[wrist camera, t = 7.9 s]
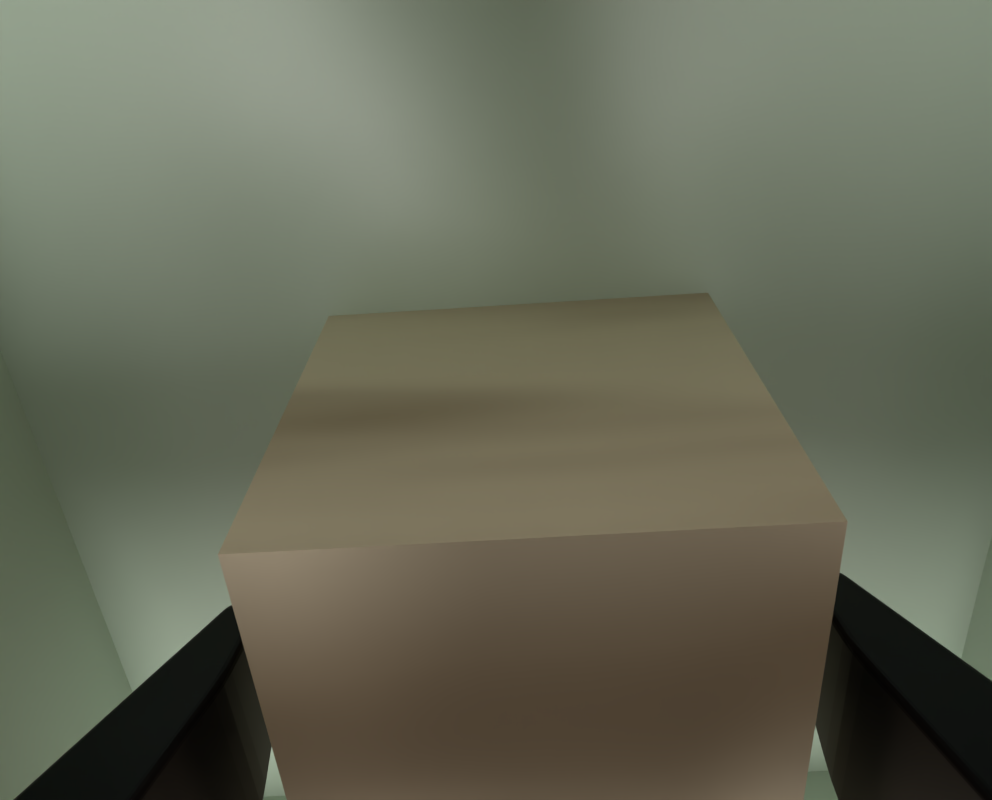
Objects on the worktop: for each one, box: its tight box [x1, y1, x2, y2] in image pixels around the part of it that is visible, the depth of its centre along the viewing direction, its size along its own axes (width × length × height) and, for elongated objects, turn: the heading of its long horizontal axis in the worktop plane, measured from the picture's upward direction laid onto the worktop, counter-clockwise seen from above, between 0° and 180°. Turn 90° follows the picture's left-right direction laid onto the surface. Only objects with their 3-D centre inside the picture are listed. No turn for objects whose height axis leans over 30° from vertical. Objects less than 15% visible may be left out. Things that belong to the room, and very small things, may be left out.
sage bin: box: [0, 0, 992, 800], centre depth 11 cm, size 16×16×4 cm
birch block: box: [218, 293, 848, 800], centre depth 10 cm, size 5×5×5 cm
